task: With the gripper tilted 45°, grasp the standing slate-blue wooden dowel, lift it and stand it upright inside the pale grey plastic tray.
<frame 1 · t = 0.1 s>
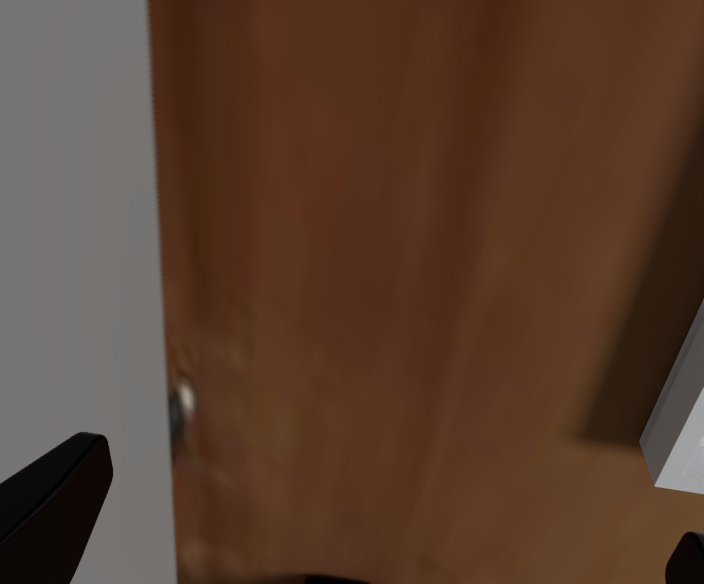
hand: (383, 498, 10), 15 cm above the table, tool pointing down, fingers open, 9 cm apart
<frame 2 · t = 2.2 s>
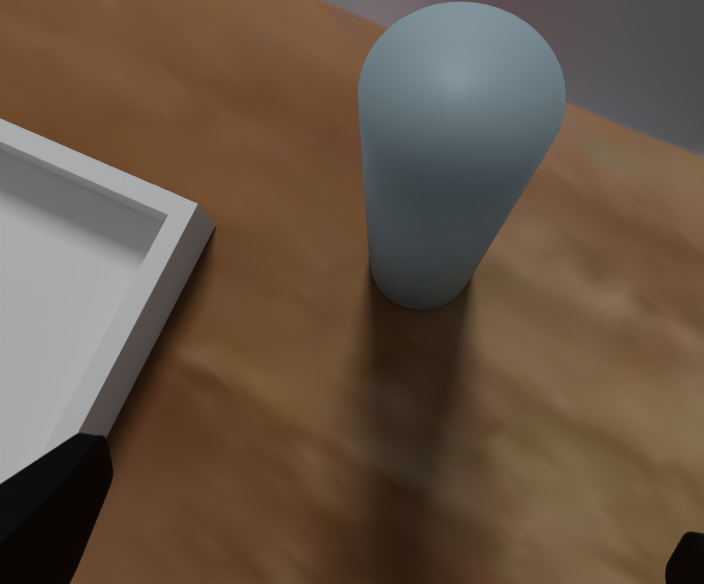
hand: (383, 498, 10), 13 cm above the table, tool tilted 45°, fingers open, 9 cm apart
dowel: (420, 259, 24), on the table
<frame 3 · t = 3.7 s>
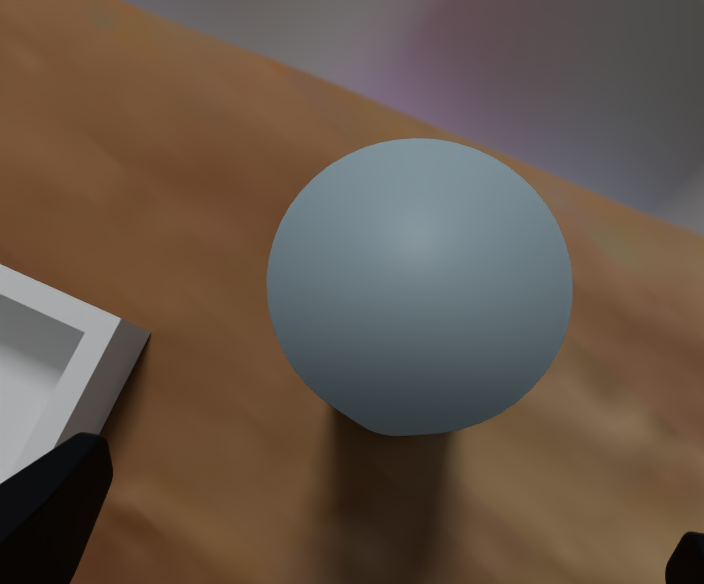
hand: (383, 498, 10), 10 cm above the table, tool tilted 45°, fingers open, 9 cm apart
dowel: (394, 373, 20), on the table
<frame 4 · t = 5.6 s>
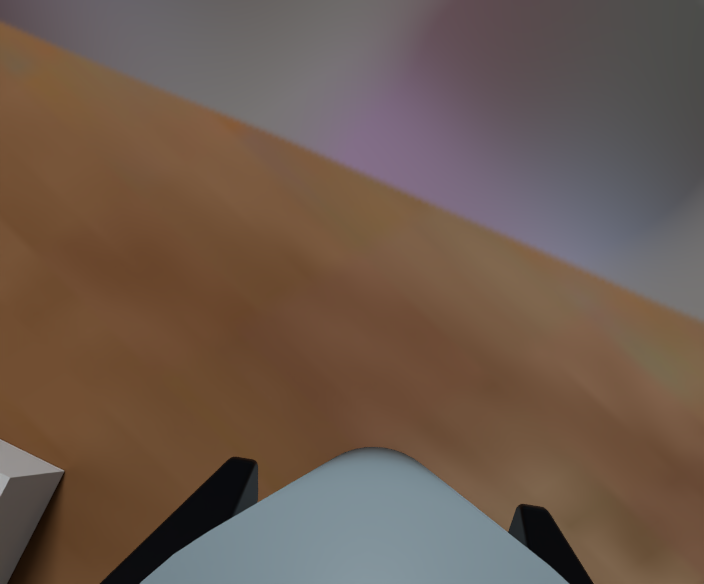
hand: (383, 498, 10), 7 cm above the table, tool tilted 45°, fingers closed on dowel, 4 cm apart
dowel: (373, 528, 16), on the table, touching gripper
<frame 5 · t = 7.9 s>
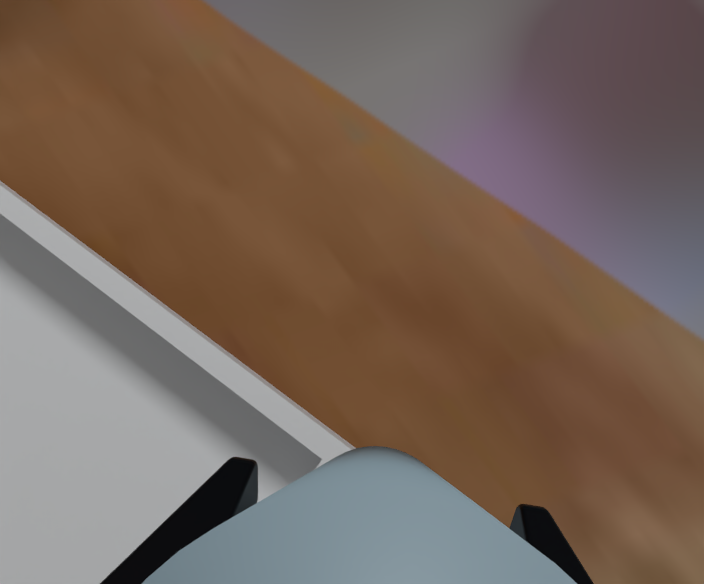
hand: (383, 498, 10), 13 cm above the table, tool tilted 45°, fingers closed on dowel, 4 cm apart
dowel: (375, 527, 16), point 6 cm above the table, touching gripper
when the fingers open (9 cm above the table, at t = 10.2 s): dowel drops 1 cm, resting on tray.
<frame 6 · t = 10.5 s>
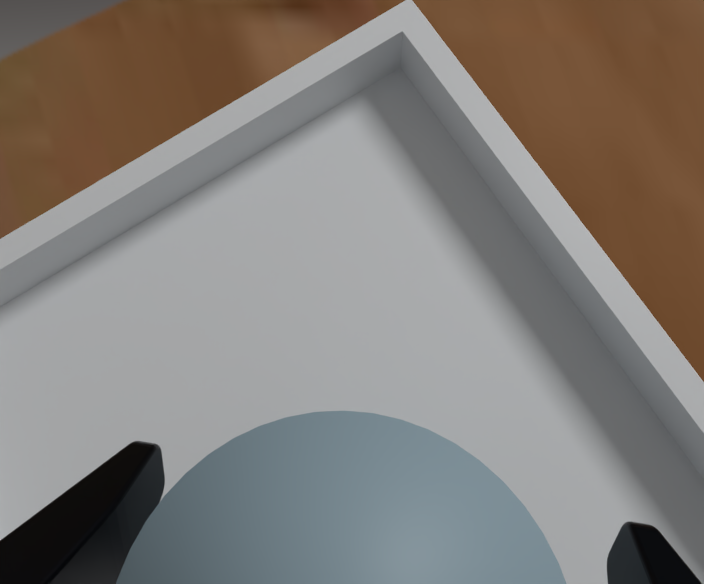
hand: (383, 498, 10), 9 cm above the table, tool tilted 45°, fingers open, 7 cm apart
dowel: (375, 521, 17), point 1 cm above the table, touching tray
tray: (308, 474, 18), on the table
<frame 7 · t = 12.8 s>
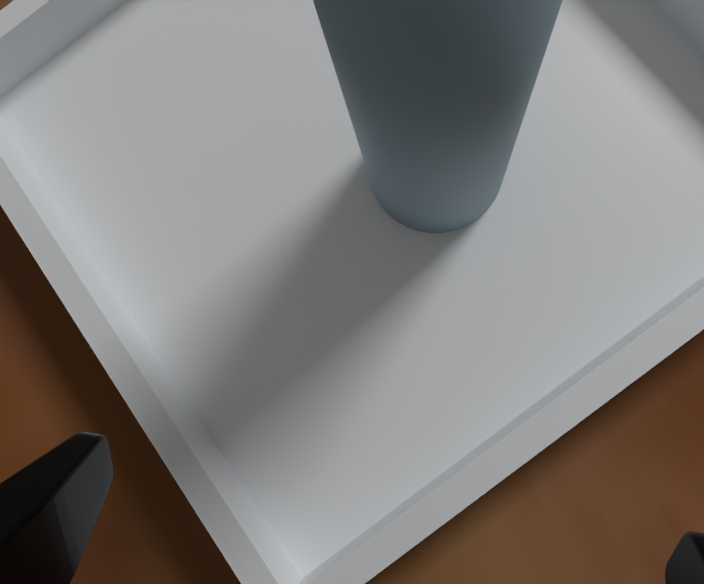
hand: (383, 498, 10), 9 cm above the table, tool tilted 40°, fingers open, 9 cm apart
dowel: (436, 168, 19), point 1 cm above the table, touching tray
tray: (371, 146, 20), on the table
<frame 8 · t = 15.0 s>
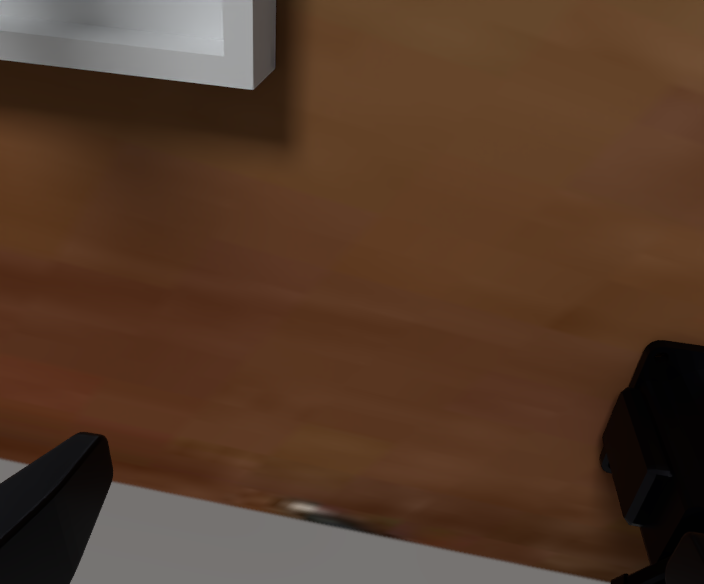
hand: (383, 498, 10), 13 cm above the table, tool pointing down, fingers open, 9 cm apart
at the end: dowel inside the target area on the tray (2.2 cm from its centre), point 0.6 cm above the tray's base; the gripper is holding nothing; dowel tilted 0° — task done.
